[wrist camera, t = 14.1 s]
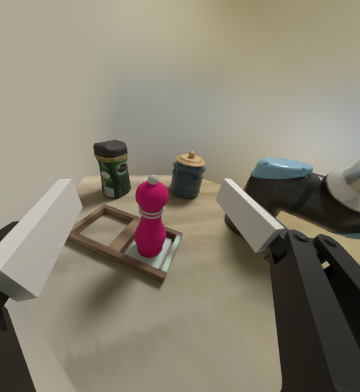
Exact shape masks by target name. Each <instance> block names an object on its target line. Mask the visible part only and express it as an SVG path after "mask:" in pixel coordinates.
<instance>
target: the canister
mask: <svg viewBox="0 0 360 392" xmlns="http://www.w3.org/2000/svg"><path fill="white" fill-rule="evenodd" d="M176 159H177V161H175V162H174V164H173V165H174V170H173V171H172V173H173V174H172V182H171V192H172V193H173V194H174V195H176V196H178V197H180V198H185V199H191V198H195V197H196V196H197V195H198V193H199V191H200V186H201V183H202V179H203V173H204V172H205V170H206V169H205V167H204V165H205V162H204V161H203V160H202V159H201V158H200V157H199V156H196V155H195V152H193V151H190V152H189V154H182V155H180V156H178V157H177V158H176Z"/></svg>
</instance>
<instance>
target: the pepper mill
mask: <svg viewBox="0 0 360 392" xmlns="http://www.w3.org/2000/svg"><path fill="white" fill-rule="evenodd" d="M135 197H136V201H137V203H138V204H139V213H140V215H141V221H140V223H139V225H138V226H137V228H136V231H135V242H136V244H137V250H138V252H139V254H140V255H141V256H143V257H146V258H152V257H155V256H157V255H158V254H159V253H160V252H161V251H162V248H163V244H164V242H165V240H166V230H165V227H164V225H163V223H162V220H161V216H162V215H163V213H164V208H165V205H166V203H167V202H168V197H169V196H168V190H167V188H166V187H165V186H164V185H163V184H162V183H160V182H158V177H157V176H156V175H150V176H149V177H148V181H146V182H143V183H142V184H140V185H139V186H138V188H137V190H136V196H135Z"/></svg>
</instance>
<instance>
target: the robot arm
mask: <svg viewBox="0 0 360 392" xmlns="http://www.w3.org/2000/svg"><path fill="white" fill-rule="evenodd" d="M312 169H313V167H312V166H311V165H309V164H306V163H302V162H299V161H294V160H290V159H283V158H264V159H262V160H260V161H259V162H258V163H257V165H256V167H255V168H254V170H253V171H252V172H251V176H250V178H249V180H248V182H247V184H246V186H245V188H244V190H242V189H241V188H240V187H238V185H237V184H235V183H234V182H233V181H232V180H231V179H223V182H222V184H221V187H220V190H219V192H218V195H217V198H216V201H217V202H218V203H219V205H220V206H221V207H222V209H223V210H224V211H225V213H226V215H225V219H226V222H227V224H228V225H229V226H230V228H231V229H232V230H233V231H235V232H236V233H237V234H239V235H240V236H242V237H244V238H245V240H246V241H247V242H248V244H249V245H250V246H251V248H252V249H253V250H254V252H255V253H259V252H264V251H265V250H266V248H267V247H269V249H270V251H269V252H268V253H267V254H266V255H265V256H264V260H265V259H266V258H267V257H269V259H268V260H267V261H269V263H270V272H271V281H272V290H273V300H274V309H275V318H276V327H277V336H278V346H279V355H280V364H281V373H282V389H281V391H280V392H360V265H359V264H358V263H357V262H356V261H355V260H354V259H353V258H352V257H351V256H350V255H349V254H348V253H347V251H346V250H345V249H344V248H343V247H342V246H341V245H340V244H339V243H338V242H337V241H335V240H334V239H333V238H331V237H329V236H326V235H323V234H319V235H317V236H316V237H315V238H308V237H307V236H305V235H304V234H303V233H301V232H299V231H296V230H289V229H287V228H286V227H285V226H284V225H283V224H282V223H281V222H279V221H278V220H277V219H276V216H277V215H278V214H279V212H280V211H284V212H286V213H289V214H291V215H293V216H296V217H298V218H300V219H302V220H305V221H307V222H309V223H312V224H314V225H316V226H318V227H321V228H323V229H325V230H327V231H329V232H331V233H334V234H338V235H341V236H344V237H347V238H351V239H360V161H359V162H357V163H356V164H354V165H353V166H344V167H340V168H337V169H334V170H333V171H331V172H330V173H329V174H328V175H327V176H323V175H319V174H315V173H312V171H313V170H312ZM82 207H83V206H82V204H81V201H80V199H79V196H78V193H77V191H76V188H75V186H74V183H73V181H72V179H59V180H58V181H57V182H56V183H55V184H54V186H52V188H51V189H50V190H49V191H48V192H47V193H46V194H45V195H44V196H43V197H42V198H41V199H40V200H39V202H37V204H36V205H35V206H34V207H33V208H32V209H31V210H30V211H29V212H28V213H27V214H26V215H25V216H24V217H23V218H22V219H21V221H17V222H12V223H10V224H9V225H7V226H5V227H4V228H2V229H1V230H0V392H36V390H35V387H34V384H33V381H32V379H31V376H30V373H29V370H28V367H27V364H26V362H25V358H24V356H23V353H22V350H21V347H20V344H19V342H18V338H17V336H16V333H15V330H14V327H13V324H12V322H11V318H10V316H9V313H8V310H7V309H6V308H5V307H4V305H5V303H6V302H7V300H8V298H9V297H10V298H11V299H13V300H15V301H17V302H18V301H23V300H28V299H33V298H38V296H39V294H40V292H41V290H42V288H43V286H44V284H45V282H46V280H47V278H48V276H49V274H50V272H51V270H52V268H53V266H54V264H55V262H56V260H57V258H58V256H59V254H60V252H61V250H62V248H63V246H64V244H65V242H66V240H67V238H68V236H69V234H70V232H71V230H72V228H73V226H74V224H75V222H76V220H77V218H78V216H79V214H80V211H81V209H82ZM326 261H327V262H328V263H329V264H330V266H328V267H327V268H325V269H323V268H322V265H321V264H323V263H324V262H326Z"/></svg>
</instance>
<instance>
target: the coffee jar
mask: <svg viewBox="0 0 360 392" xmlns="http://www.w3.org/2000/svg"><path fill="white" fill-rule="evenodd" d="M93 147H94V155H95V157H96V159H97V160H98V163H99V166H100V173H101V182H102V190H103V193H104V194H105V195H106V196H108V197H111V198H118V197H121V196H123V195H124V194H126V193H127V192H129V191H130V189H131V185H130V180H129V174H128V167H127V156H128V152H127V147H126V144H125V143H124V142H121V141H118V140H112V141H107V142H101V143H95V144H94V146H93Z"/></svg>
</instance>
